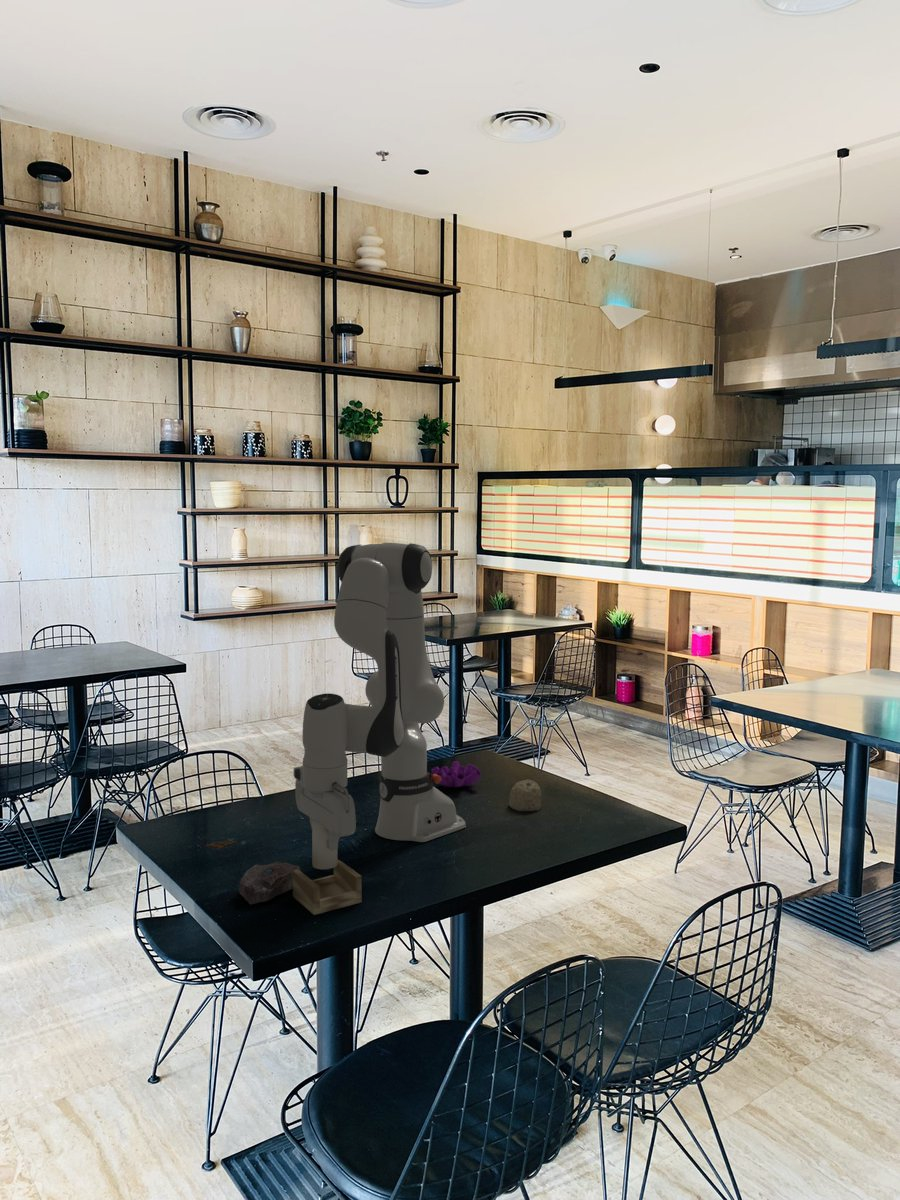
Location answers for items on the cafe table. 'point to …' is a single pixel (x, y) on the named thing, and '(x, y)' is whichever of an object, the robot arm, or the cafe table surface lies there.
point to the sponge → (525, 796)
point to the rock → (266, 881)
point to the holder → (328, 889)
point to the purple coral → (457, 775)
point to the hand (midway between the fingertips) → (325, 844)
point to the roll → (322, 848)
